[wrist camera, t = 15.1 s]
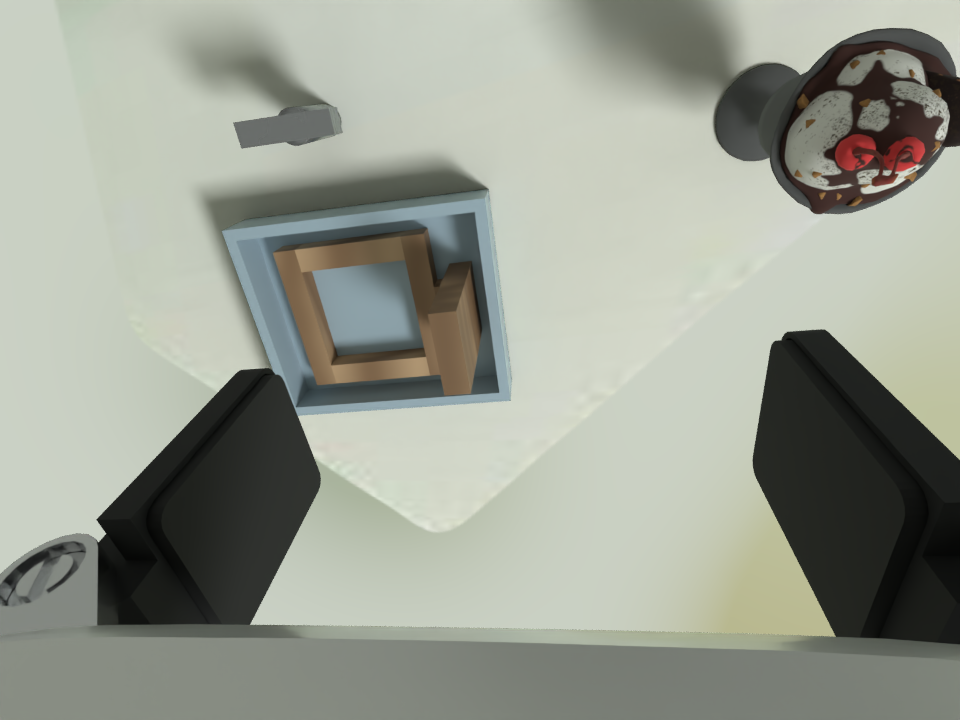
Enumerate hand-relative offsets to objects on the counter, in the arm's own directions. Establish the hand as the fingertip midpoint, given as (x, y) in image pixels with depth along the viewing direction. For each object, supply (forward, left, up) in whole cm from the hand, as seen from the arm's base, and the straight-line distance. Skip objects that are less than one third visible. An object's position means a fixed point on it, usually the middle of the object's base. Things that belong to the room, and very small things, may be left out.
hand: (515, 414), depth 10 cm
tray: (+7, -10, -25) cm, 28 cm away
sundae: (-2, +14, -25) cm, 29 cm away
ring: (+7, -10, -24) cm, 27 cm away
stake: (-5, -11, -25) cm, 28 cm away
